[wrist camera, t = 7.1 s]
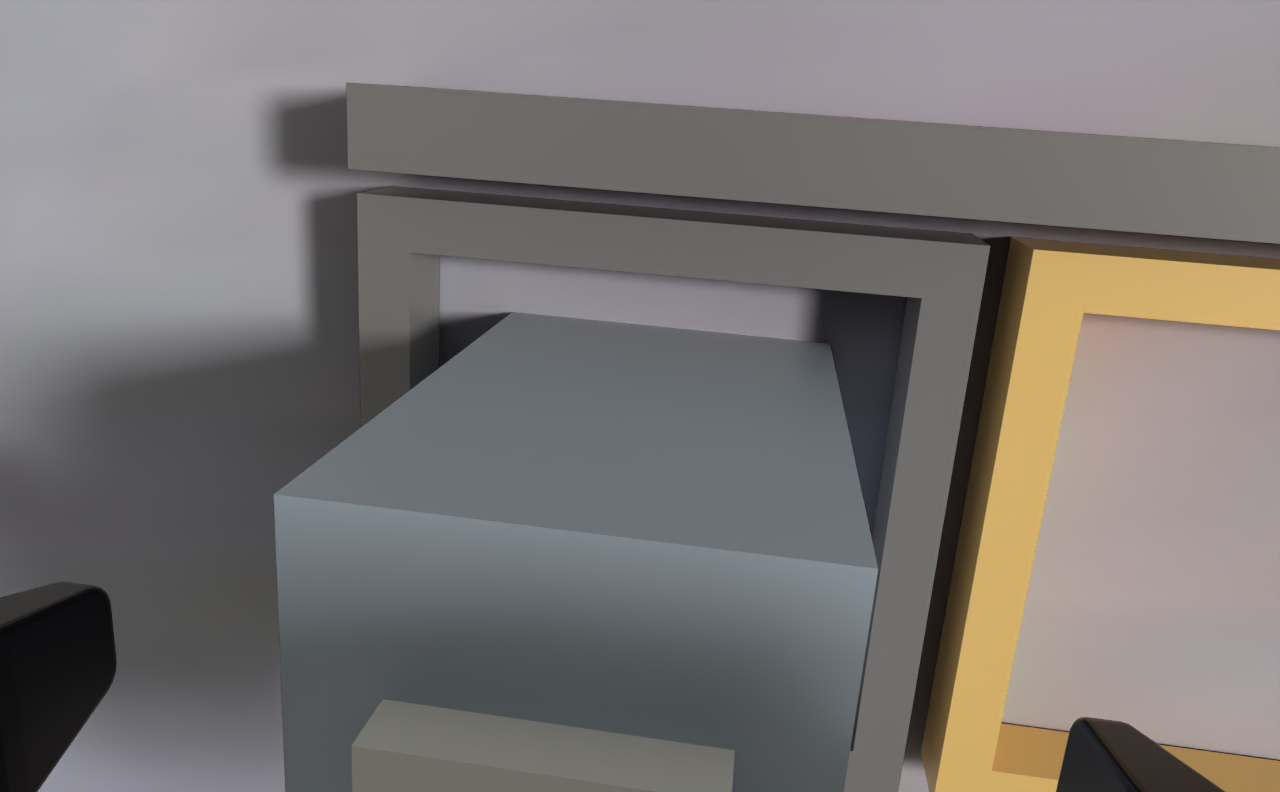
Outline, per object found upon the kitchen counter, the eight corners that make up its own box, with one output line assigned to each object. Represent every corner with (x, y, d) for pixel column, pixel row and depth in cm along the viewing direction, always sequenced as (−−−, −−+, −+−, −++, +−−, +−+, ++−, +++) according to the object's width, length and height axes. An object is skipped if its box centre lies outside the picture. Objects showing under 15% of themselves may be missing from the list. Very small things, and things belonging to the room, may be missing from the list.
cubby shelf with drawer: (1478, 830, 14) (1573, 929, 13) (395, 679, 16) (348, 747, 14) (1725, 178, 12) (1889, 190, 10) (391, 85, 13) (334, 81, 12)
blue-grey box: (792, 631, 15) (804, 1124, 8) (503, 593, 15) (258, 1024, 8) (829, 343, 14) (886, 608, 6) (512, 311, 14) (230, 526, 7)
